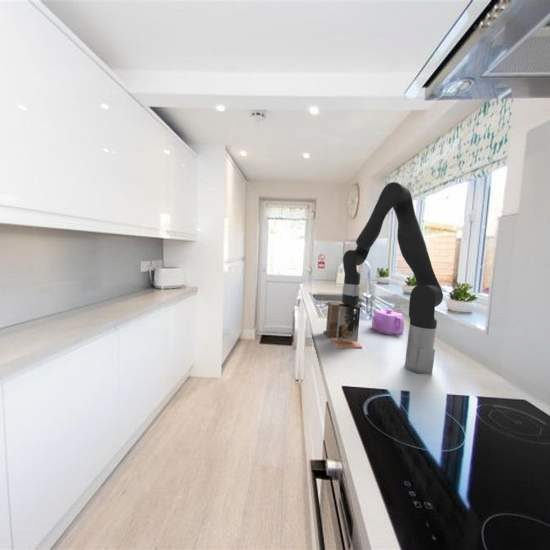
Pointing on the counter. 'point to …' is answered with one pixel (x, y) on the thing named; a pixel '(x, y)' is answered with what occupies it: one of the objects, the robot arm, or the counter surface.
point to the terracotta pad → (346, 343)
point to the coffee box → (343, 324)
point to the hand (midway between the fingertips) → (347, 328)
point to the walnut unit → (332, 319)
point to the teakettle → (388, 322)
